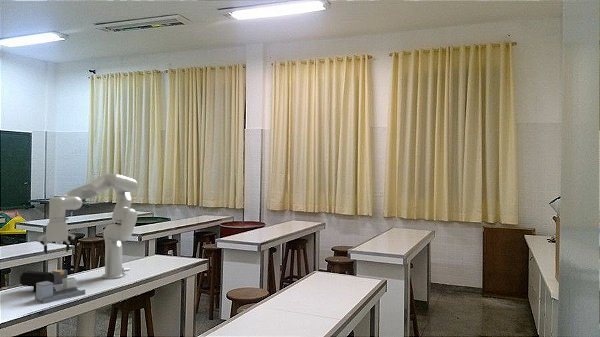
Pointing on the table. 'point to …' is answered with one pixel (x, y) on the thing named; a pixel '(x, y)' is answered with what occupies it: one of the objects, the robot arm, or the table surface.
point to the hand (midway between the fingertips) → (56, 252)
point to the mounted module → (44, 290)
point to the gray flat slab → (62, 294)
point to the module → (68, 283)
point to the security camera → (36, 278)
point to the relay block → (59, 276)
